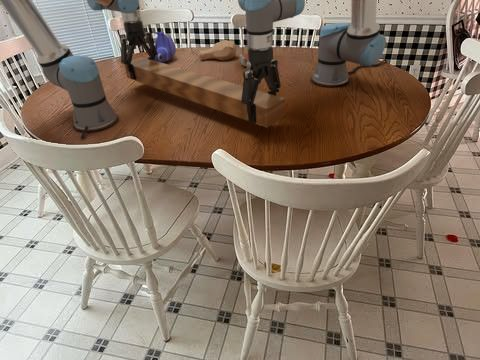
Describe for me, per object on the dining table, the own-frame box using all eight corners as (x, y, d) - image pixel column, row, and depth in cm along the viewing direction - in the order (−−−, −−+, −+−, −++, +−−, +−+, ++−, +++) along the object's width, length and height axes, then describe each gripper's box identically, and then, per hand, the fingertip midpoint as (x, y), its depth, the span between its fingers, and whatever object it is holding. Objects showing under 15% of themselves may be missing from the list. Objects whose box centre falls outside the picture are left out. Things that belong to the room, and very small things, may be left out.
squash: (238, 60, 183) (235, 44, 177) (201, 68, 185) (196, 51, 179) (237, 51, 191) (234, 34, 185) (201, 58, 193) (197, 42, 186)
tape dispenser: (258, 80, 163) (278, 64, 175) (258, 69, 159) (279, 54, 172) (226, 73, 170) (248, 58, 183) (226, 62, 167) (248, 48, 179)
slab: (127, 77, 156) (123, 62, 152) (145, 71, 162) (141, 57, 158) (266, 127, 112) (266, 108, 108) (284, 116, 118) (285, 98, 114)
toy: (164, 64, 198) (143, 70, 176) (159, 31, 191) (137, 33, 169) (180, 63, 196) (162, 69, 173) (176, 30, 189) (156, 32, 167)
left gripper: (113, 27, 134) (126, 85, 147) (160, 17, 147) (168, 70, 160) (102, 25, 138) (116, 81, 151) (149, 15, 151) (158, 67, 164)
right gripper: (244, 60, 96) (248, 132, 110) (292, 39, 109) (291, 106, 122) (224, 55, 100) (231, 125, 114) (273, 36, 113) (274, 101, 126)
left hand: (143, 75), depth 155 cm, fingers closed on slab, 10 cm apart
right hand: (262, 115), depth 118 cm, fingers closed on slab, 9 cm apart
